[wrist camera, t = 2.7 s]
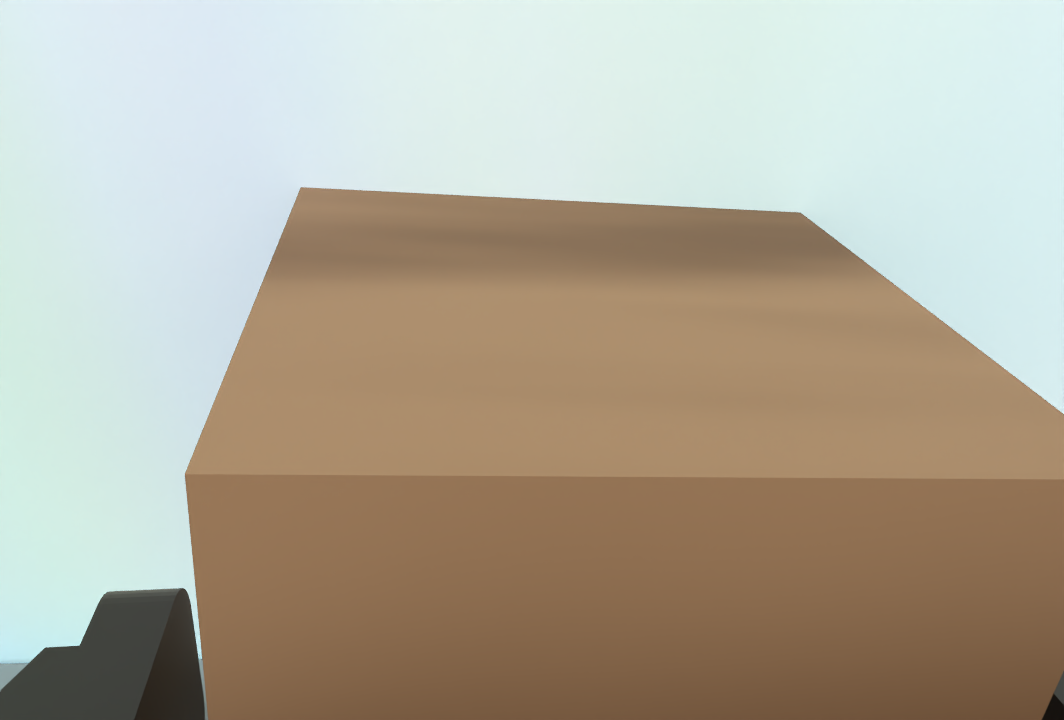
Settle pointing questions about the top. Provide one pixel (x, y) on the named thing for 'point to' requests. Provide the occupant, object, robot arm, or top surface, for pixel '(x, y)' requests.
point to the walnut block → (615, 478)
